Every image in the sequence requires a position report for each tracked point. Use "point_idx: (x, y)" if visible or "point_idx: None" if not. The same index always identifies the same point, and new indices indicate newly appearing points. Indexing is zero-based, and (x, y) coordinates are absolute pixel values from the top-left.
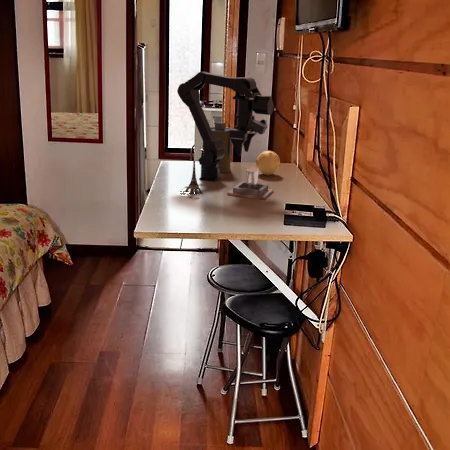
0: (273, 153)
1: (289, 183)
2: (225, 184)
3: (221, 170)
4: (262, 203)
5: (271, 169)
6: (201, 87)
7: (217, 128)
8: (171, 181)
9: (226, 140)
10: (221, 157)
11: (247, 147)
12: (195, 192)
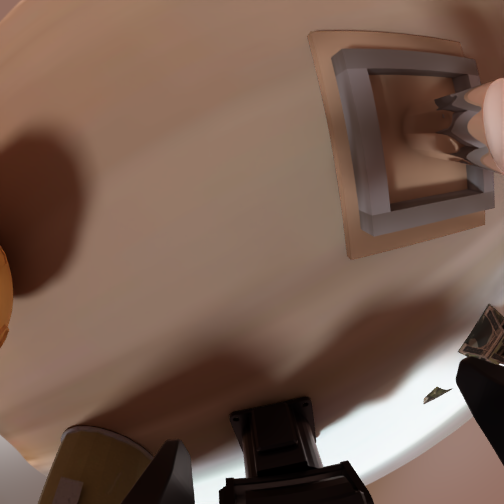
0: None
1: (62, 56)
2: (329, 333)
3: (131, 447)
4: (489, 47)
5: None
6: None
7: None
8: (381, 459)
9: None
10: (273, 493)
11: (175, 485)
12: (483, 332)
